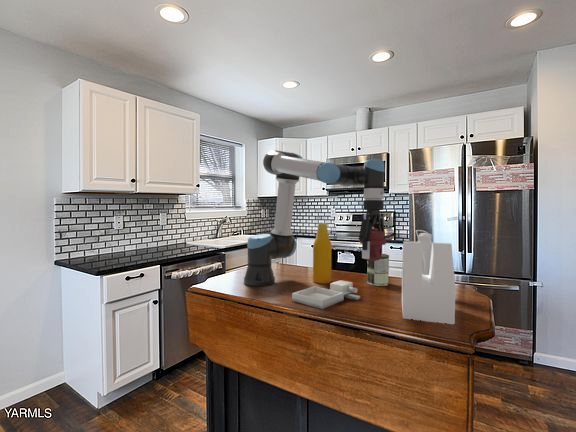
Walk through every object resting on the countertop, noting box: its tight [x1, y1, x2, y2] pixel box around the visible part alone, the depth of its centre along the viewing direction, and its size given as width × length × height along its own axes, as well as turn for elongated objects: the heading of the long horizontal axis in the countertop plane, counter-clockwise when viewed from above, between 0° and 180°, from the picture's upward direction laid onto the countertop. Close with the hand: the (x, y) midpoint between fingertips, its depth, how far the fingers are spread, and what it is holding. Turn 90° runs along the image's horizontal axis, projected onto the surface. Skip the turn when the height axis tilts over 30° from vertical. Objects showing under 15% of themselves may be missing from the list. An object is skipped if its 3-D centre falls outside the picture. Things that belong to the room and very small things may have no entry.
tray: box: [291, 285, 345, 310], centre depth 121 cm, size 15×15×3 cm
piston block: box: [329, 279, 358, 295], centre depth 127 cm, size 10×8×4 cm
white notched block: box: [401, 240, 456, 325], centre depth 108 cm, size 19×15×25 cm
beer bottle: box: [312, 223, 333, 285], centre depth 152 cm, size 9×9×29 cm
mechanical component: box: [358, 227, 387, 262], centre depth 119 cm, size 12×10×10 cm
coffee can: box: [366, 253, 390, 287], centre depth 149 cm, size 10×10×14 cm
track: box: [344, 293, 361, 301], centre depth 127 cm, size 11×3×1 cm, turn 48°
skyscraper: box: [415, 229, 433, 275], centre depth 132 cm, size 8×8×28 cm
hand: (372, 256), depth 119 cm, fingers closed on mechanical component, 10 cm apart
